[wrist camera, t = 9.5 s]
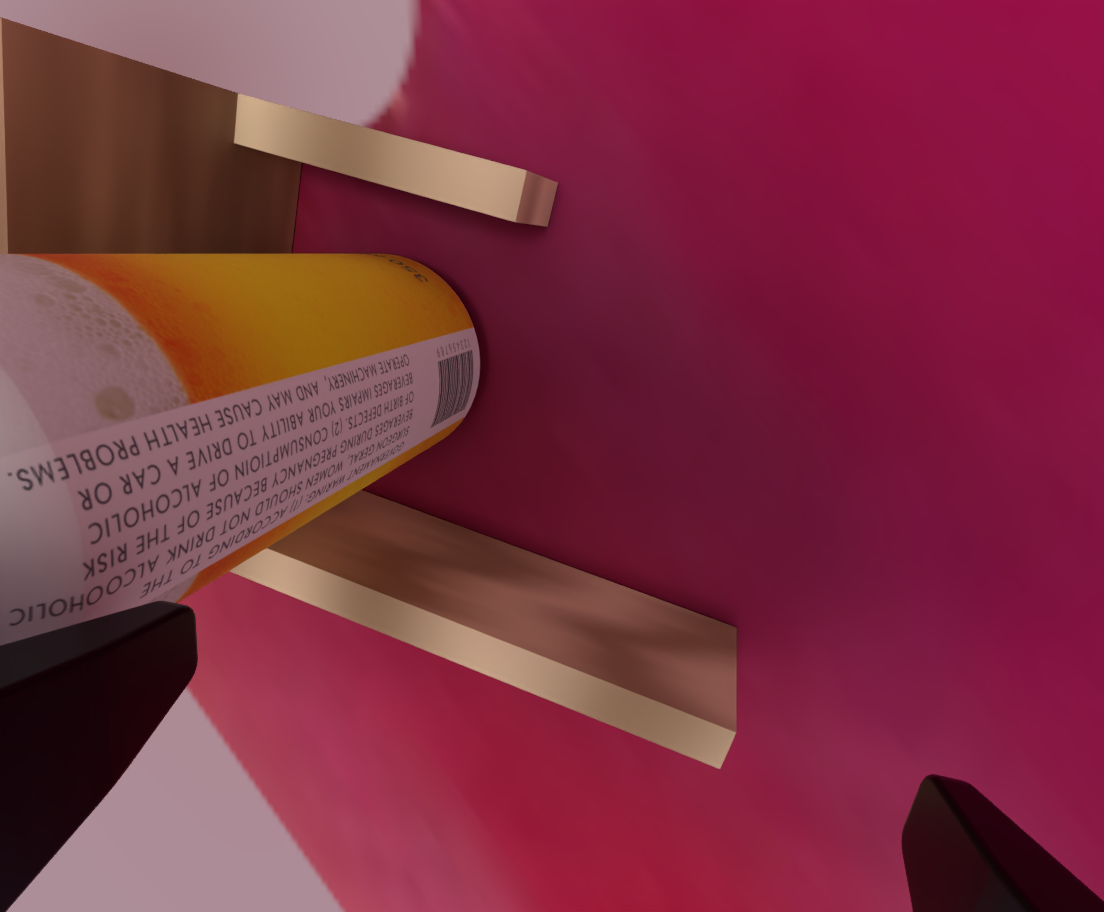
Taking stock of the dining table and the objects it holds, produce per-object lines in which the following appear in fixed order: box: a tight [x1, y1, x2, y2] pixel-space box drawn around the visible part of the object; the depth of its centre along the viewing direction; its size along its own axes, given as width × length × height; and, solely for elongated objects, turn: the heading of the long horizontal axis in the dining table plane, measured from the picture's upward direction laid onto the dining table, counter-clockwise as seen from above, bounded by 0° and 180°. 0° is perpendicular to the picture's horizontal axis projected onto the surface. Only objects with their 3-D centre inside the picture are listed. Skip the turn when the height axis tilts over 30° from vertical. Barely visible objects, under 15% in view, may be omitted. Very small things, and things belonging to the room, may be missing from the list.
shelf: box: [0, 17, 737, 769], centre depth 17 cm, size 19×12×9 cm, turn 76°
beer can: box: [0, 254, 480, 645], centre depth 15 cm, size 6×6×15 cm
